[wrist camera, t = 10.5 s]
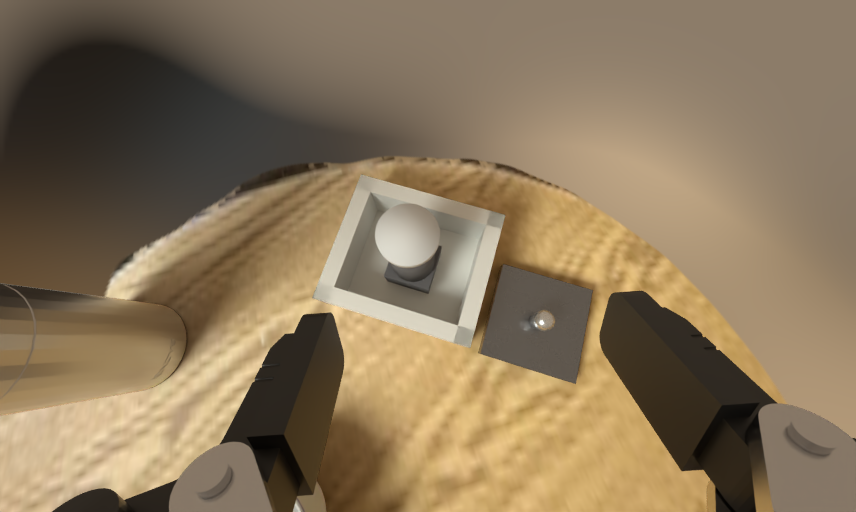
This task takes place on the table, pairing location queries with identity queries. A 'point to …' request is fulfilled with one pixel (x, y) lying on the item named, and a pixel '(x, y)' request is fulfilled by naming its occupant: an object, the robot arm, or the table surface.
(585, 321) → the stud plate
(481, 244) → the bin
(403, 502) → the table surface
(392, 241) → the knob
